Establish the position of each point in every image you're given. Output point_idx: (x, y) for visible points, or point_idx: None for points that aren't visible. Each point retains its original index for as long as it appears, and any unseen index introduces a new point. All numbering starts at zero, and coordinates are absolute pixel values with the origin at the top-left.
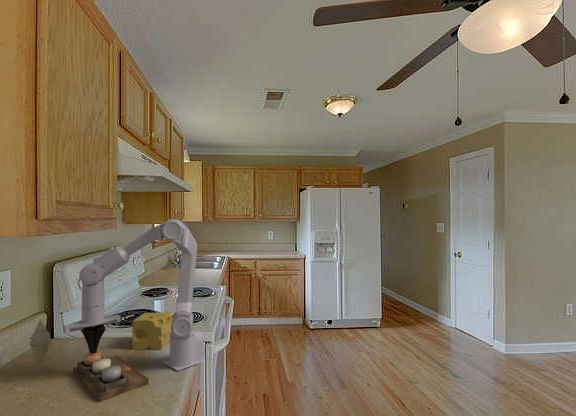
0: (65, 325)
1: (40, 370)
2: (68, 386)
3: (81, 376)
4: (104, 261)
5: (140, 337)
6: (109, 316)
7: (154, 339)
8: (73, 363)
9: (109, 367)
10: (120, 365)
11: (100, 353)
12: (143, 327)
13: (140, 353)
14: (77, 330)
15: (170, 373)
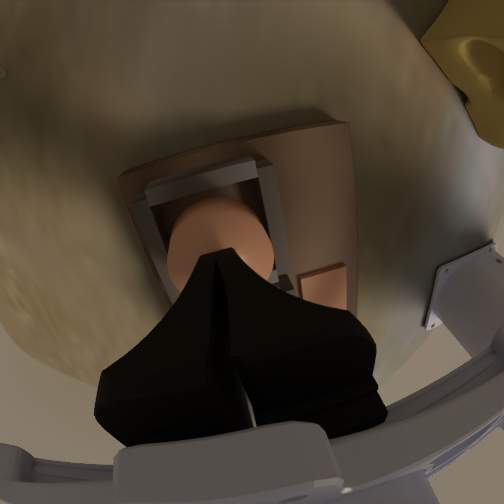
0: (3, 498)
1: (4, 76)
2: (126, 298)
3: (167, 300)
4: None
5: (479, 53)
6: (493, 424)
7: (502, 124)
8: (130, 34)
9: None
10: (328, 277)
11: (267, 264)
12: None
13: (431, 111)
14: (104, 473)
15: (409, 330)
